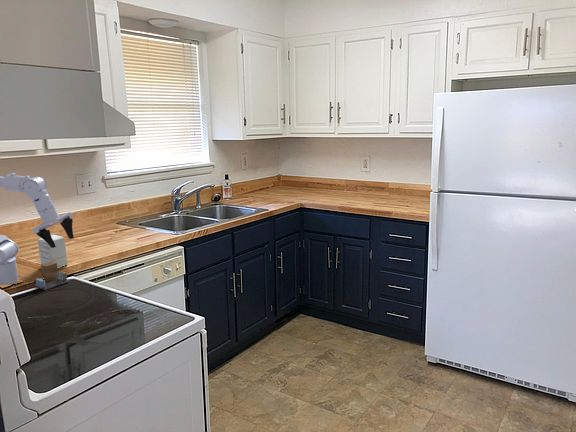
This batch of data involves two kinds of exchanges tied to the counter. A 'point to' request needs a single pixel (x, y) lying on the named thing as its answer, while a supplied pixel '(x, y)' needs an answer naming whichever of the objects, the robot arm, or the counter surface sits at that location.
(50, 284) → the vise frame
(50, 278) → the walnut block
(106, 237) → the counter surface
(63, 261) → the supplement box
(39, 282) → the vise jaw
